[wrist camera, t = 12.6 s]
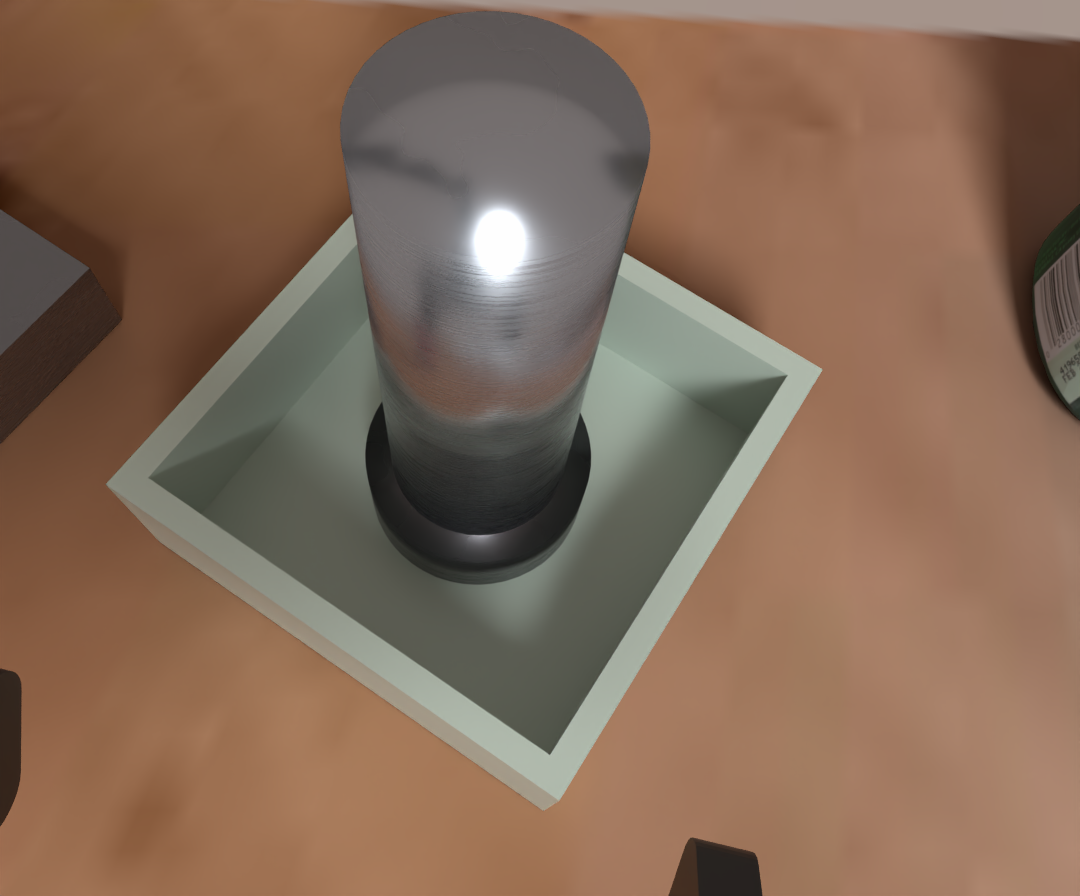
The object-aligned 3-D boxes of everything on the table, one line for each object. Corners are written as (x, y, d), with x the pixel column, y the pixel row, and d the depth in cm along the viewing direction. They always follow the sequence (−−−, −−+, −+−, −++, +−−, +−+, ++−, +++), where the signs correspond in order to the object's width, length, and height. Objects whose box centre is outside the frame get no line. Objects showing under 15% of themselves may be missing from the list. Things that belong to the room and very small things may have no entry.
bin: (159, 541, 24) (105, 484, 21) (428, 229, 28) (424, 134, 25) (543, 811, 23) (559, 800, 19) (772, 437, 27) (822, 369, 23)
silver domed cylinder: (344, 554, 24) (232, 242, 12) (406, 367, 26) (363, -58, 14) (555, 608, 24) (654, 348, 12) (600, 416, 26) (725, 29, 14)
